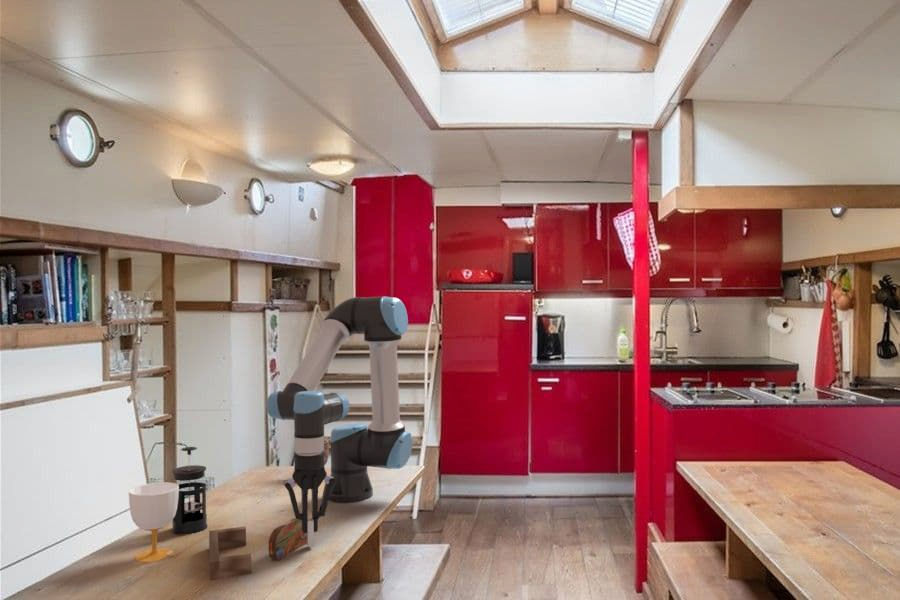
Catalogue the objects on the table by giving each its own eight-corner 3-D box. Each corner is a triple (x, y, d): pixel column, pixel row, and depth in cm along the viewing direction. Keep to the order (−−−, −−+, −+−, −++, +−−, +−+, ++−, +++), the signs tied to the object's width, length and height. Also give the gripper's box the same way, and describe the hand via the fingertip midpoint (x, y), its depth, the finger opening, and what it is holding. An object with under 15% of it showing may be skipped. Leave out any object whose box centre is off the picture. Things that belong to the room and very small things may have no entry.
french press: (183, 522, 195) (183, 443, 195) (214, 523, 194) (213, 443, 193) (161, 536, 183) (161, 452, 183) (194, 537, 182) (193, 453, 182)
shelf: (245, 545, 176) (245, 526, 176) (251, 578, 155) (251, 556, 155) (209, 550, 173) (209, 530, 173) (210, 584, 152) (210, 562, 152)
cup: (147, 568, 161) (146, 498, 161) (119, 558, 167) (118, 490, 167) (189, 552, 171) (188, 486, 171) (161, 544, 177) (160, 479, 177)
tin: (276, 567, 161) (276, 532, 161) (265, 565, 163) (265, 531, 163) (311, 545, 175) (311, 513, 175) (301, 544, 177) (301, 512, 177)
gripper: (332, 447, 176) (332, 536, 177) (281, 451, 172) (282, 543, 172) (337, 453, 169) (338, 546, 170) (285, 457, 165) (285, 553, 165)
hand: (309, 544), depth 171 cm, fingers closed
